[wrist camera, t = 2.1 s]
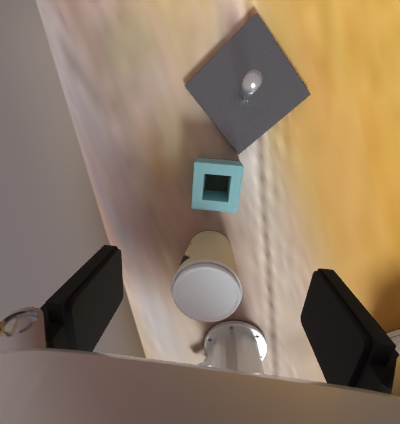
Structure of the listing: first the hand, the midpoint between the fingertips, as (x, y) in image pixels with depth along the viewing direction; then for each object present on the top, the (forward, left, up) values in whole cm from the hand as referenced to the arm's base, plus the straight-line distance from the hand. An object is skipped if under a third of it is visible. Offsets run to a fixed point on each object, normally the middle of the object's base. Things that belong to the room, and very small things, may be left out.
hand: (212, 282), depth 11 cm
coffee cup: (-9, -9, -26) cm, 29 cm away
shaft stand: (+11, +7, -26) cm, 29 cm away
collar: (0, 0, -26) cm, 26 cm away
